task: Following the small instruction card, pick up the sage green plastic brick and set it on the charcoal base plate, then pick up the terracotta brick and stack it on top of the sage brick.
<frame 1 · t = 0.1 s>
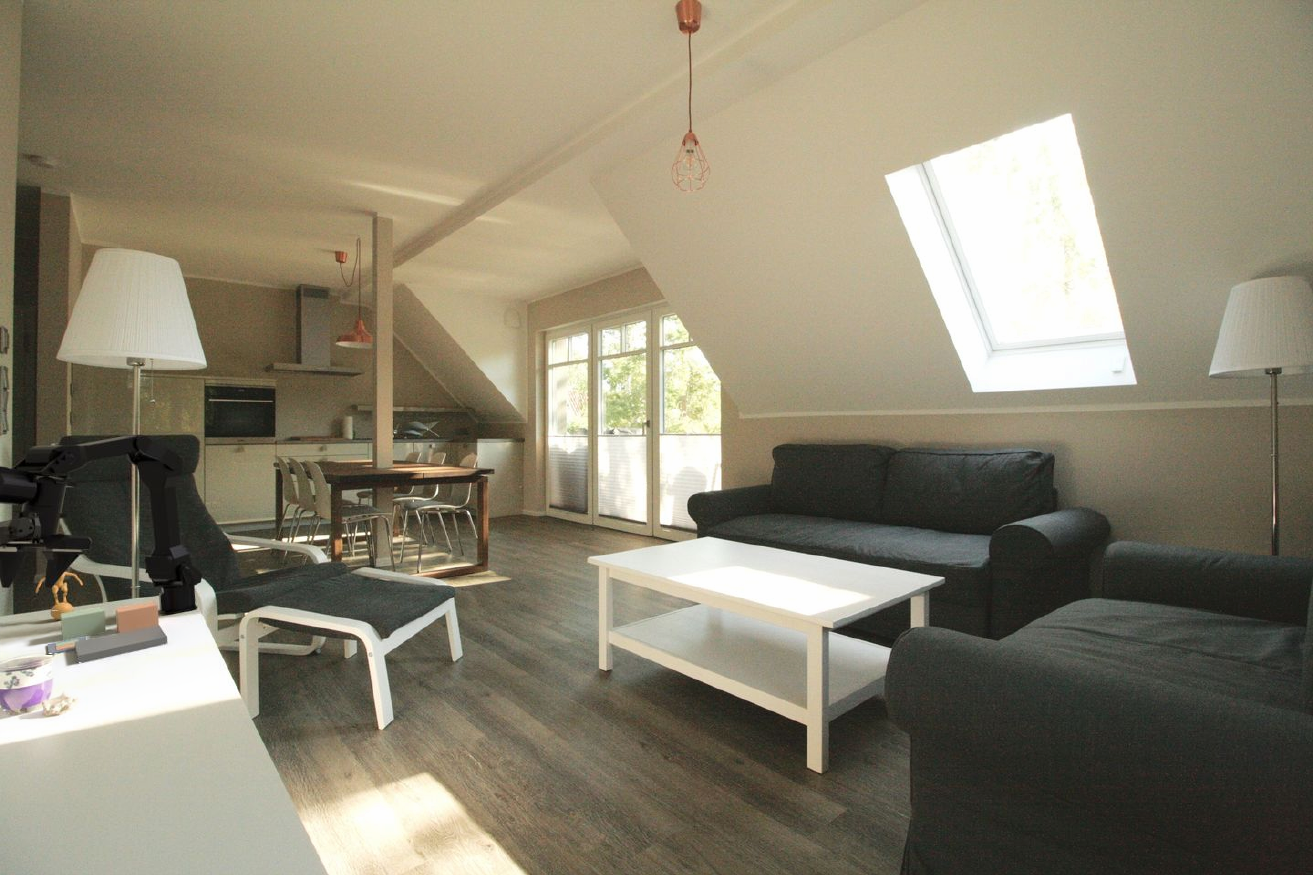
hand: (27, 587, 124), 15 cm above the table, tool pointing down, fingers open, 9 cm apart
instruction card: (67, 646, 135), on the table
terracotta brick: (137, 627, 146), on the table
base plate: (121, 646, 134), on the table
figurine: (61, 619, 154), on the table
sage brick: (84, 634, 143), on the table
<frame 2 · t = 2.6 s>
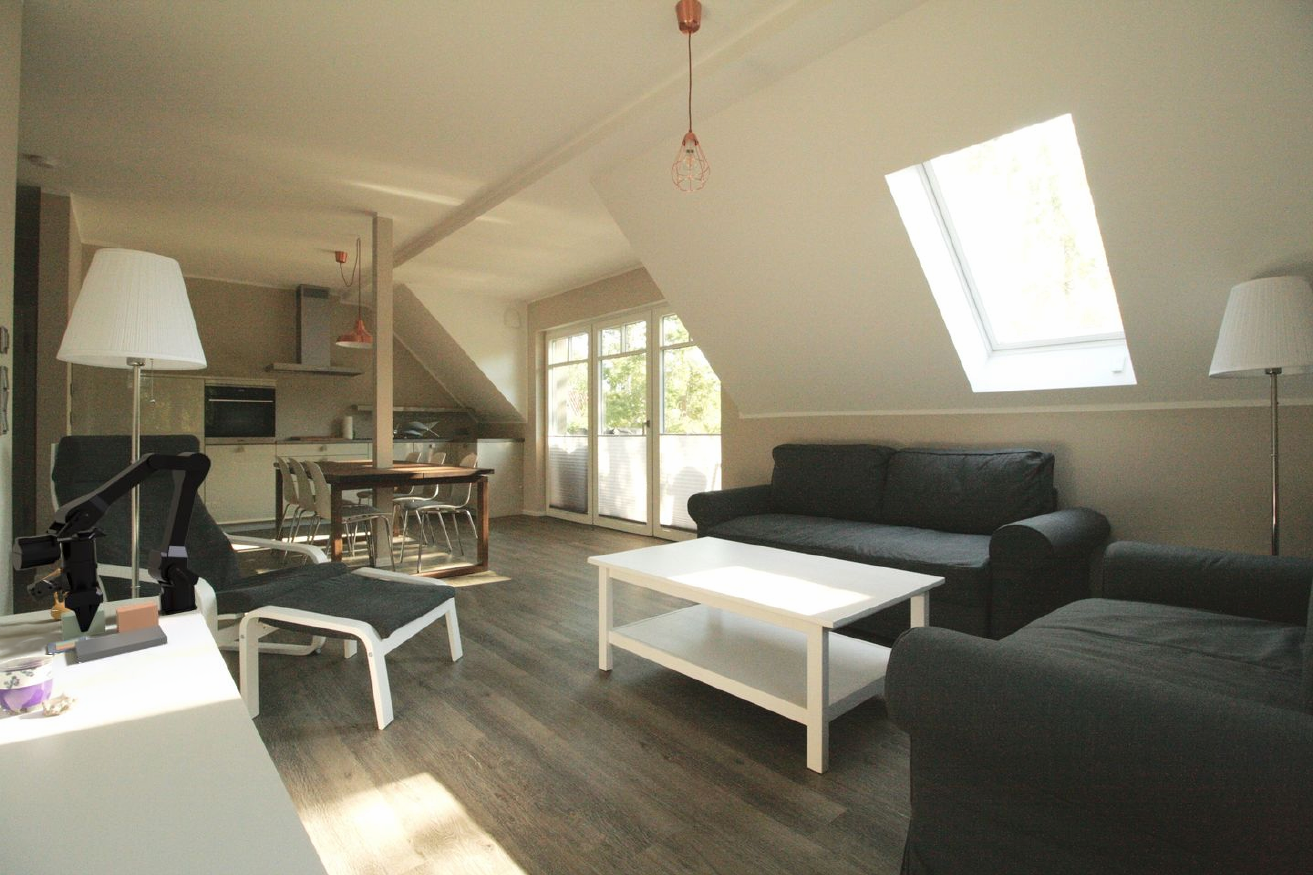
hand: (83, 628, 142), 1 cm above the table, tool pointing down, fingers closed on sage brick, 5 cm apart
sage brick: (84, 633, 143), on the table, touching gripper
everything else where it was.
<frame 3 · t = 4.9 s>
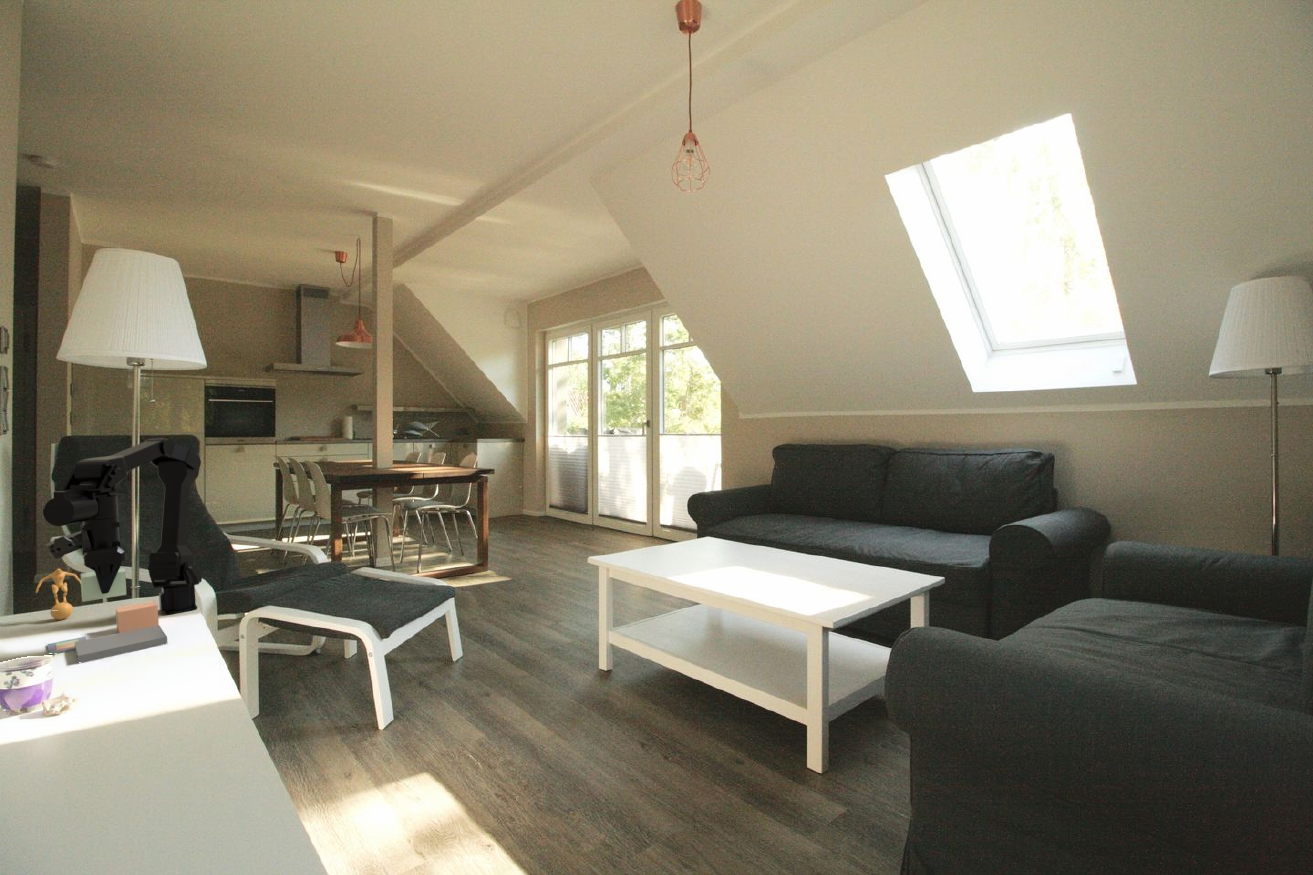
hand: (104, 590, 136), 11 cm above the table, tool pointing down, fingers closed on sage brick, 5 cm apart
sage brick: (104, 595, 136), point 10 cm above the table, touching gripper
everything else where it was.
when the fingers open (4 cm above the table, at t = 7.0 s): sage brick drops 1 cm, resting on base plate.
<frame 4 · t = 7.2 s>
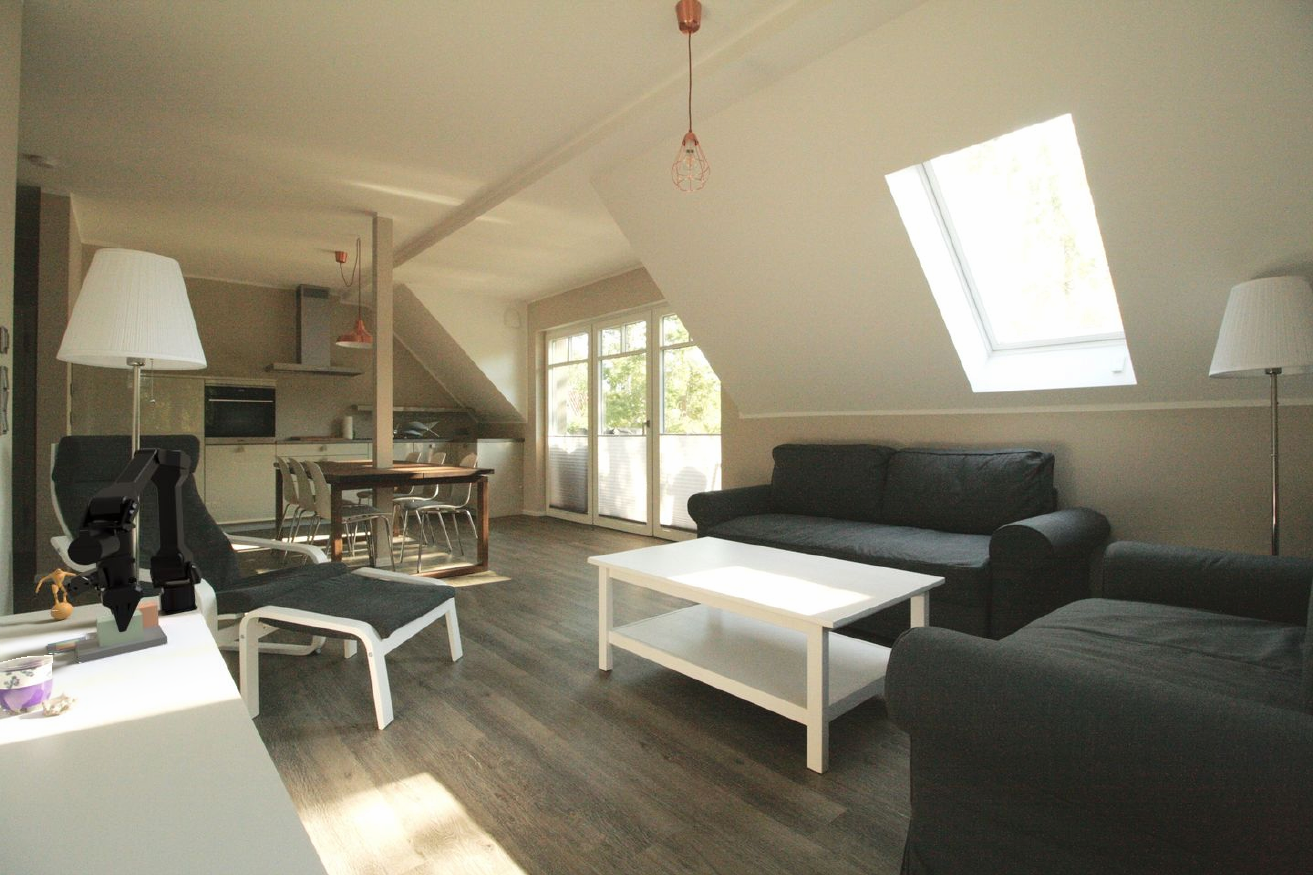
hand: (120, 627, 134), 4 cm above the table, tool pointing down, fingers open, 7 cm apart
sage brick: (120, 639, 134), point 1 cm above the table, touching base plate
everything else where it was.
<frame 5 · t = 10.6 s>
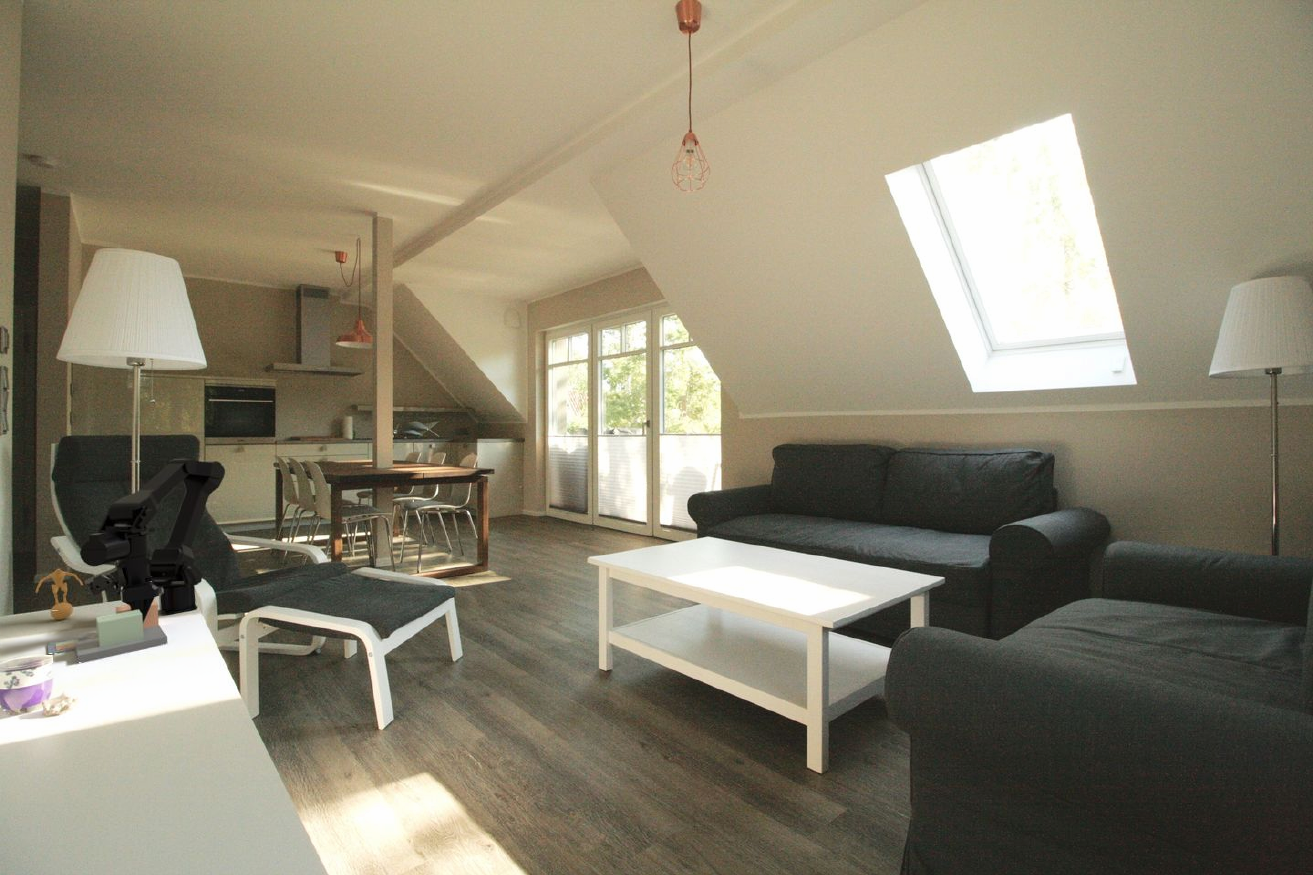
hand: (137, 622, 146), 1 cm above the table, tool pointing down, fingers closed on terracotta brick, 5 cm apart
terracotta brick: (137, 627, 146), on the table, touching gripper
everything else where it was.
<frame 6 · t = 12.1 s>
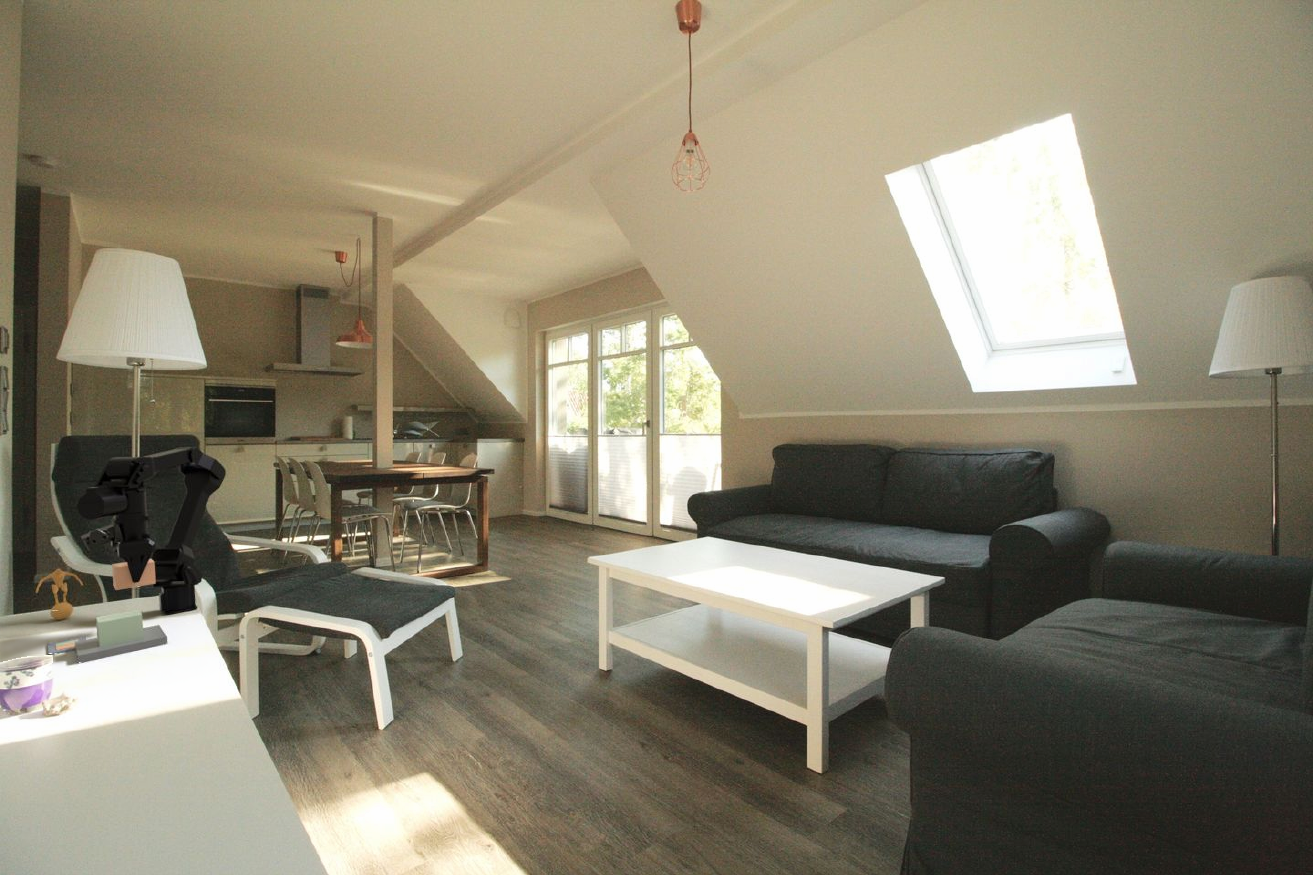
hand: (134, 580, 145), 11 cm above the table, tool pointing down, fingers closed on terracotta brick, 5 cm apart
terracotta brick: (134, 584, 145), point 10 cm above the table, touching gripper
everything else where it was.
when the fingers open (9 cm above the table, at t = 13.7 s): terracotta brick drops 1 cm, resting on sage brick.
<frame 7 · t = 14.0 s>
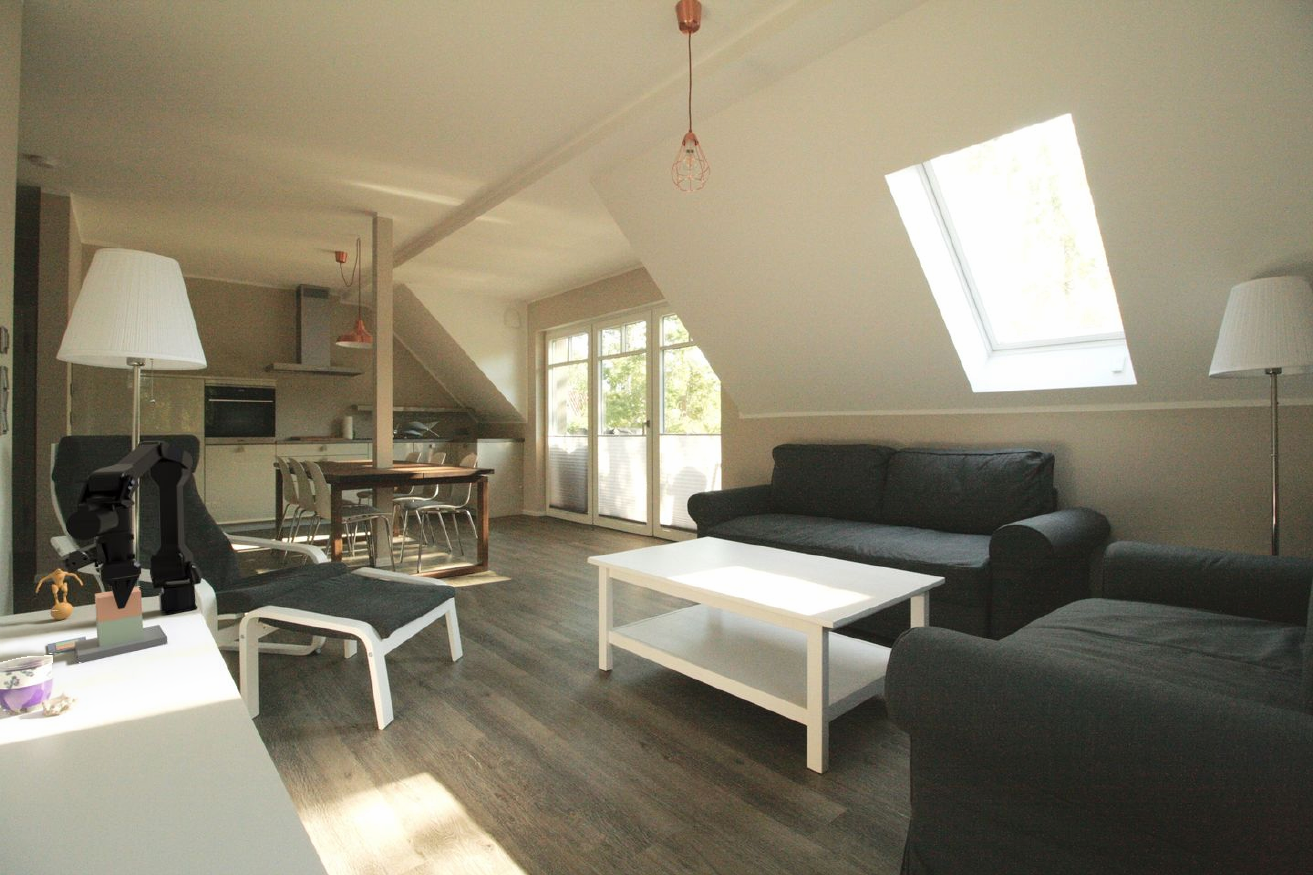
hand: (119, 604, 134), 9 cm above the table, tool pointing down, fingers open, 8 cm apart
terracotta brick: (119, 615, 134), point 6 cm above the table, touching sage brick
sage brick: (120, 639, 134), point 1 cm above the table, touching base plate, terracotta brick
everything else where it was.
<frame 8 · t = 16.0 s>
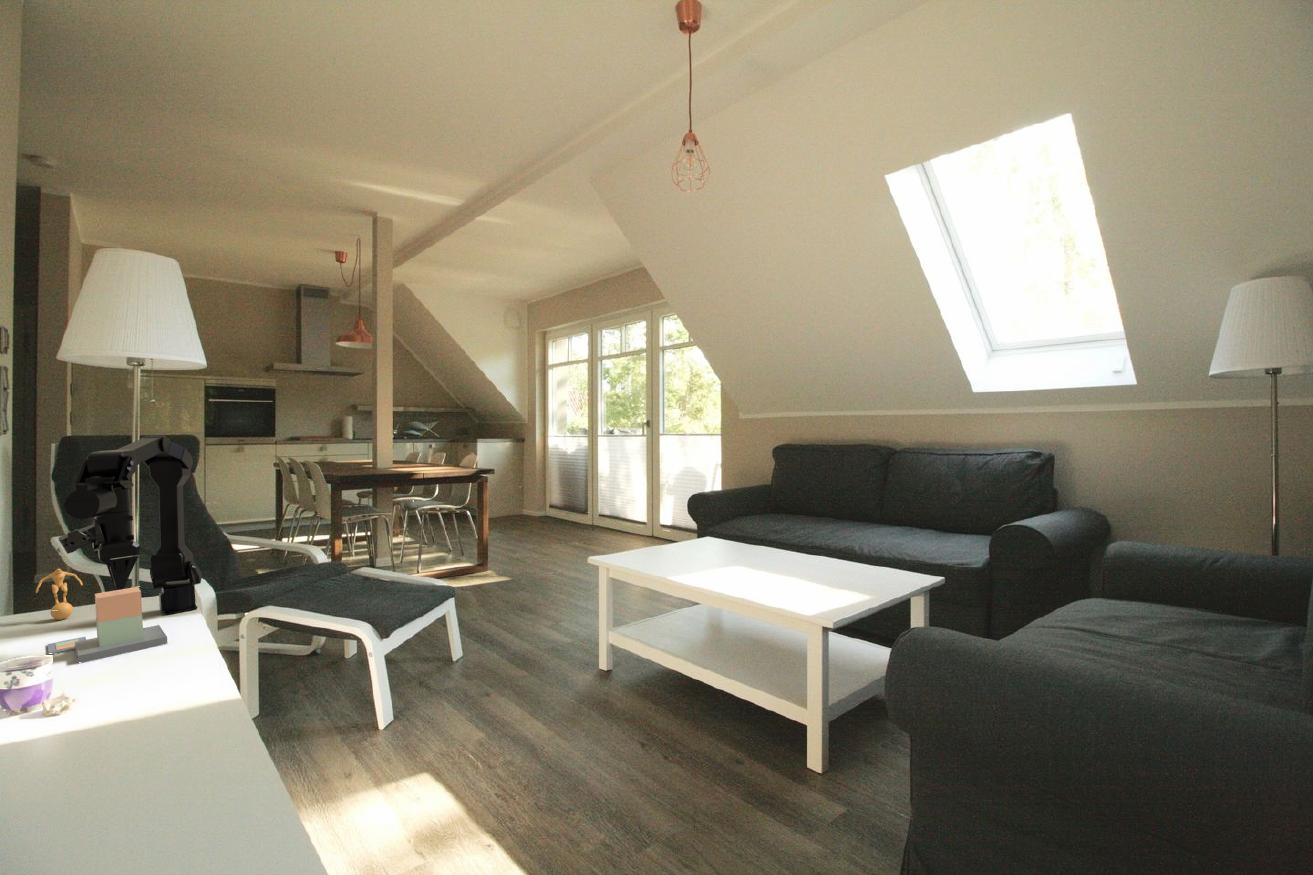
hand: (117, 585, 133), 13 cm above the table, tool pointing down, fingers open, 9 cm apart
nothing on the table moved.
at the end: sage brick 0.1 cm off-centre on the base plate, point 1.5 cm above the base plate's base; terracotta brick 0.0 cm off-centre on the sage brick, point 5.0 cm above the sage brick's base; terracotta brick tilted 0° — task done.
